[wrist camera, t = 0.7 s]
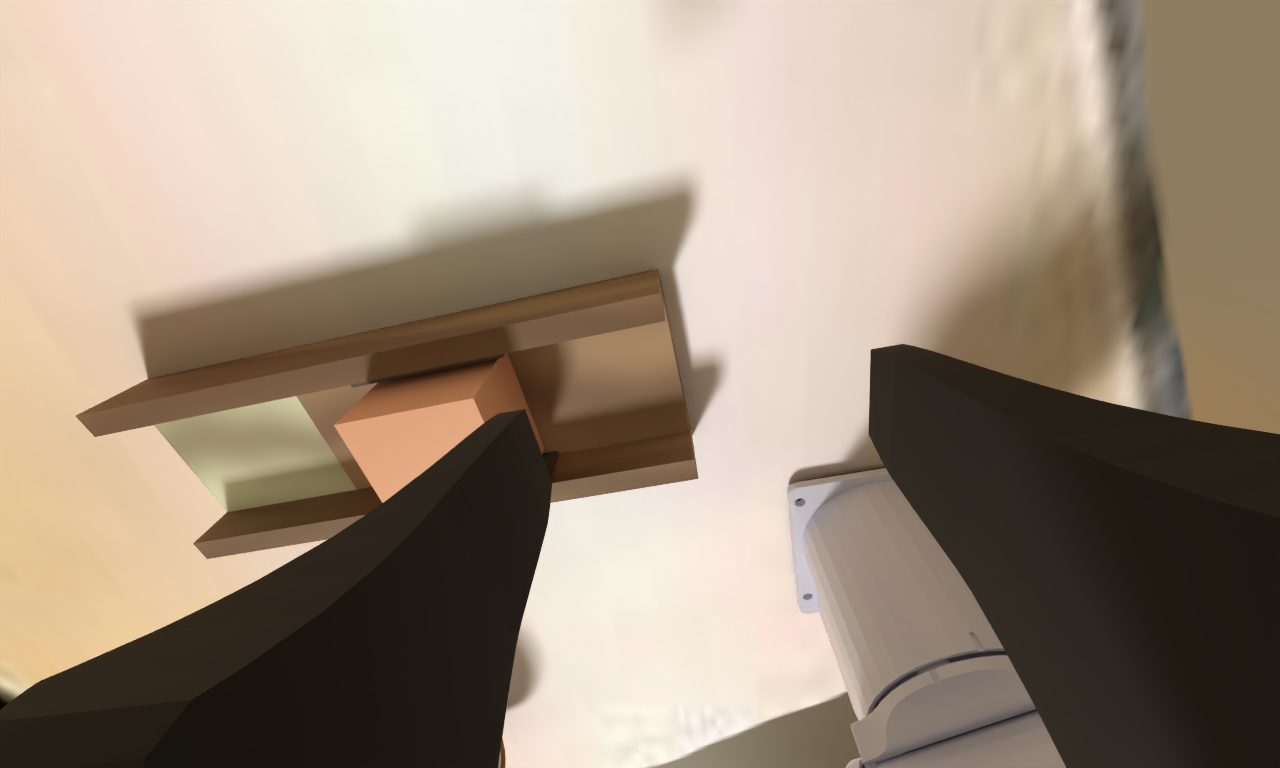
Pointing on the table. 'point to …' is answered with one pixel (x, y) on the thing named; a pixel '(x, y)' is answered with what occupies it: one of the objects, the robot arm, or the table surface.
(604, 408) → the chute
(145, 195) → the table surface
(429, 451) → the block
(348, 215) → the table surface
